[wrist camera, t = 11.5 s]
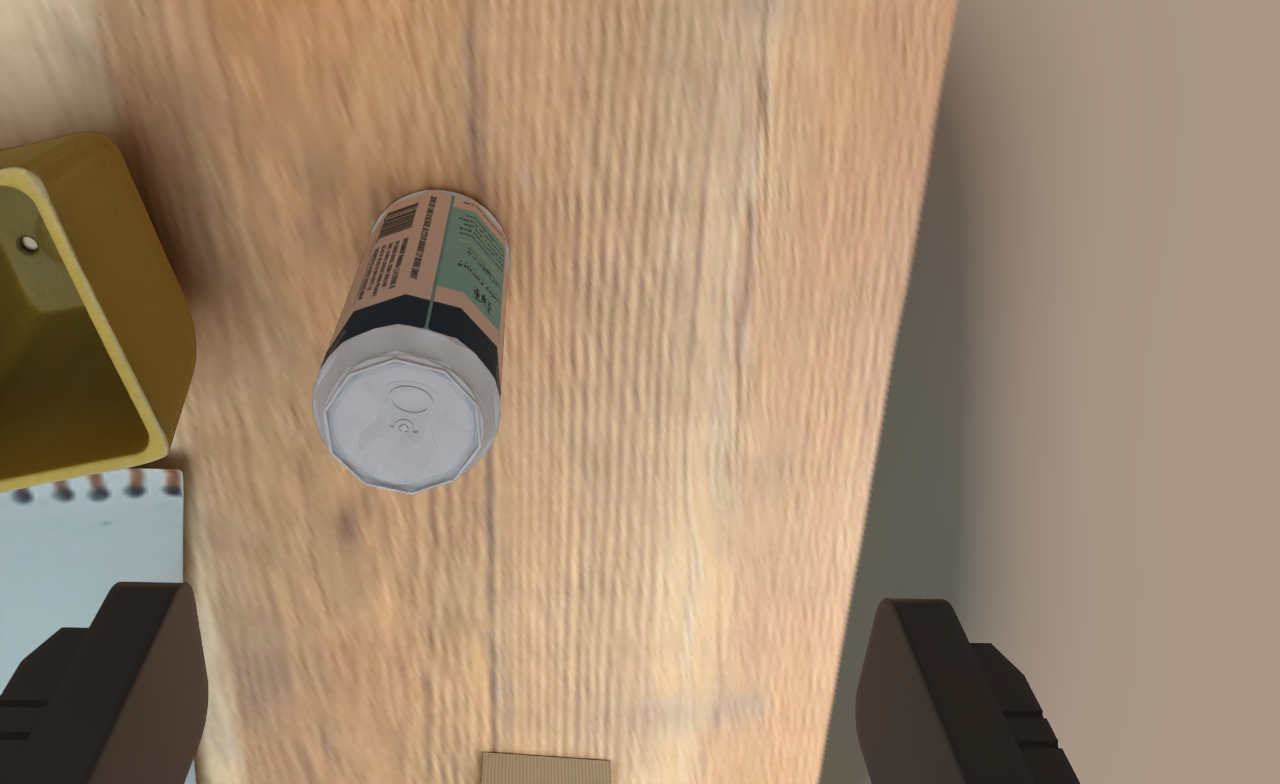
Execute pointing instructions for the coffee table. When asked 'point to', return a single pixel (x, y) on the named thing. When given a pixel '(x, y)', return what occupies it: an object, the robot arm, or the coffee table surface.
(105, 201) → the flower pot
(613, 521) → the coffee table surface
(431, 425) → the beer can
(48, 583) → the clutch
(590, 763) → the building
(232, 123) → the coffee table surface
